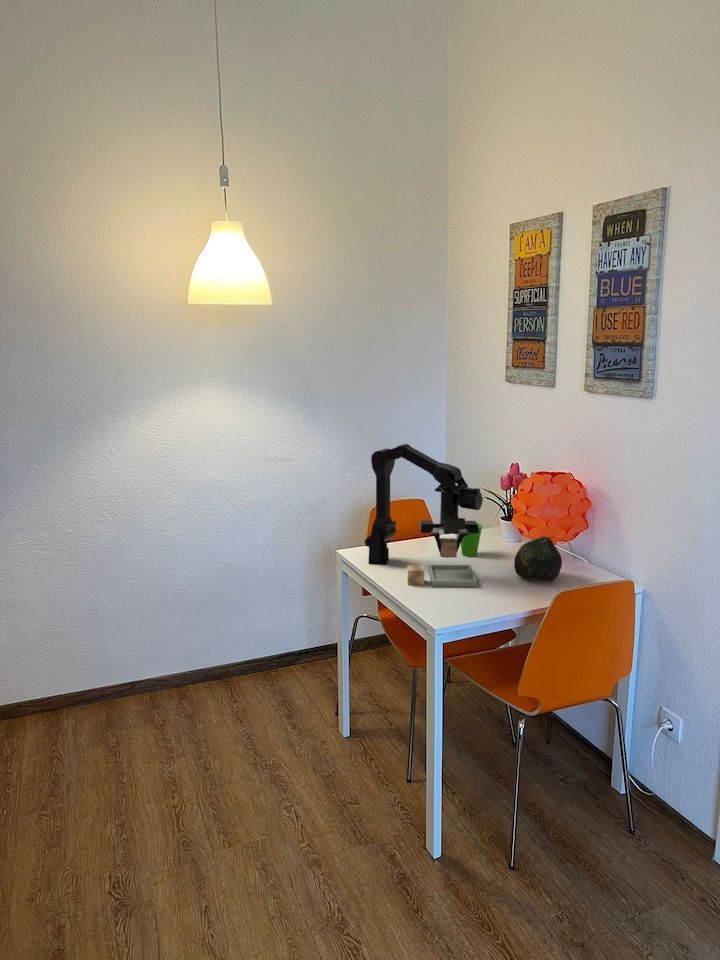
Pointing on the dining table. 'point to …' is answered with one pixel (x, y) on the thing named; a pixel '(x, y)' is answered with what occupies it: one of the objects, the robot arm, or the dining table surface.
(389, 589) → the dining table surface
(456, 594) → the dining table surface
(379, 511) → the robot arm
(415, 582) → the oak block
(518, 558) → the squash
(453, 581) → the tray
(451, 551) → the walnut block
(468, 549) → the cup
